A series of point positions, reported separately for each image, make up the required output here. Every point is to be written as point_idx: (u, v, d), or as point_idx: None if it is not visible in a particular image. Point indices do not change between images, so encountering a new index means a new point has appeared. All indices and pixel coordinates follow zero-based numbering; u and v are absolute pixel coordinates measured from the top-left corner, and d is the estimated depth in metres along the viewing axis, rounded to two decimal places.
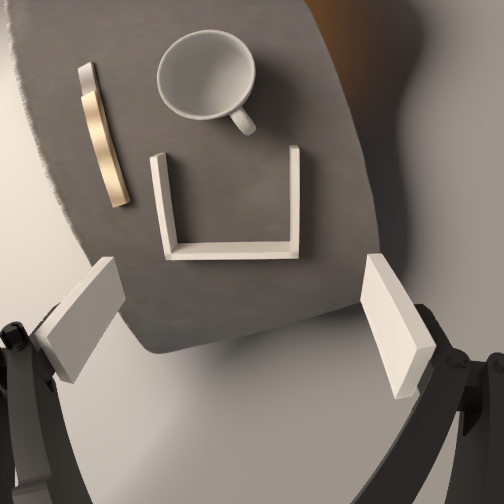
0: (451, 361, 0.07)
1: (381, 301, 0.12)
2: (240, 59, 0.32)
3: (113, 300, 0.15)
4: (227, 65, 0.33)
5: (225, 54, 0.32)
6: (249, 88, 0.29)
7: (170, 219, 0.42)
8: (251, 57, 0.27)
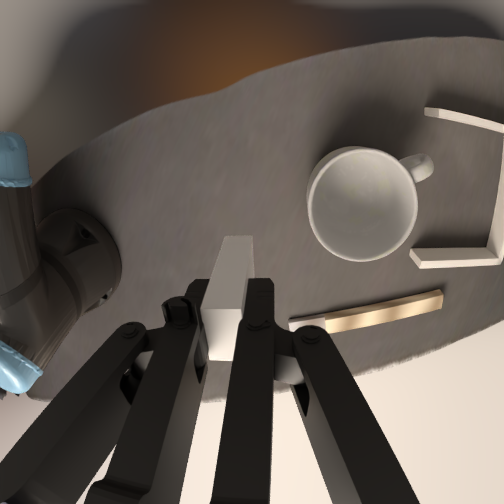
0: (251, 327, 0.10)
1: None
2: None
3: None
4: (333, 174, 0.31)
5: (320, 175, 0.31)
6: (391, 158, 0.24)
7: (470, 252, 0.33)
8: (353, 151, 0.24)
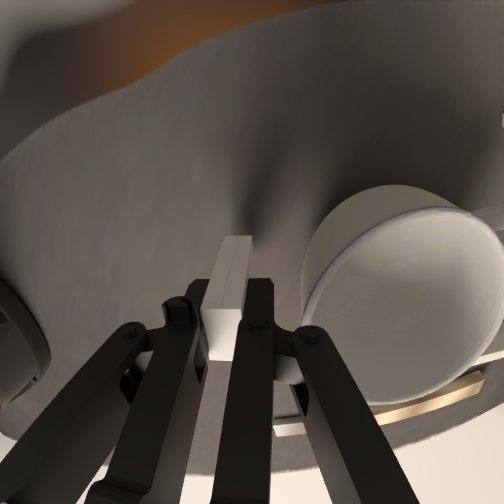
0: (251, 327, 0.10)
1: None
2: None
3: None
4: None
5: None
6: (486, 228, 0.09)
7: None
8: (414, 215, 0.09)
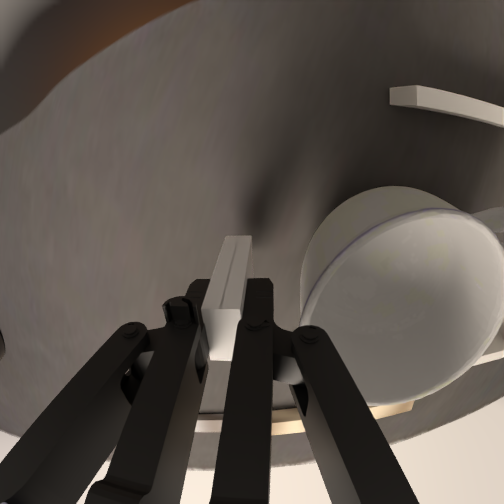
0: (250, 327, 0.10)
1: None
2: None
3: None
4: None
5: None
6: (486, 231, 0.09)
7: None
8: (413, 217, 0.09)
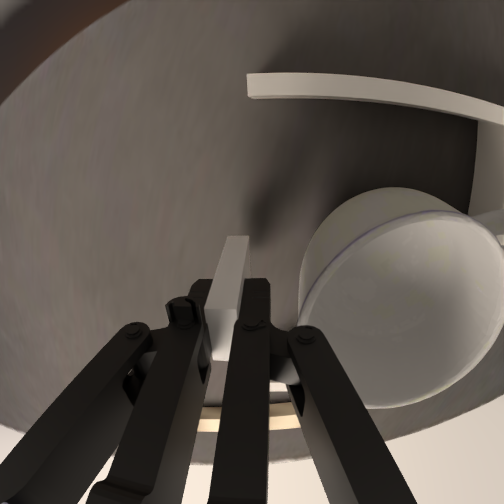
0: (247, 327, 0.10)
1: None
2: None
3: None
4: None
5: None
6: (487, 234, 0.09)
7: None
8: (412, 219, 0.09)
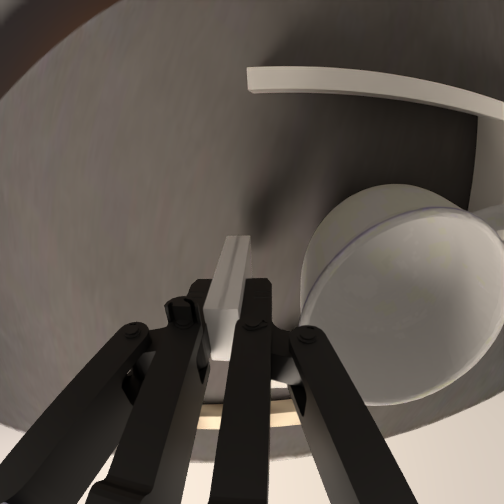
0: (248, 327, 0.10)
1: None
2: None
3: None
4: None
5: None
6: (487, 229, 0.09)
7: None
8: (413, 216, 0.09)
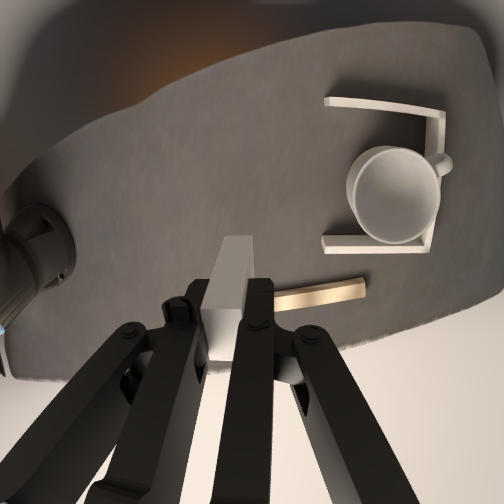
0: (251, 326, 0.10)
1: None
2: None
3: None
4: (367, 169, 0.35)
5: None
6: (420, 156, 0.27)
7: None
8: (389, 150, 0.27)
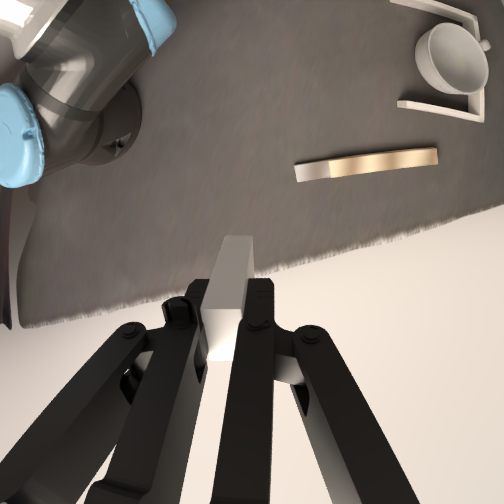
0: (251, 327, 0.10)
1: None
2: None
3: None
4: None
5: None
6: (468, 32, 0.24)
7: None
8: (447, 23, 0.24)
